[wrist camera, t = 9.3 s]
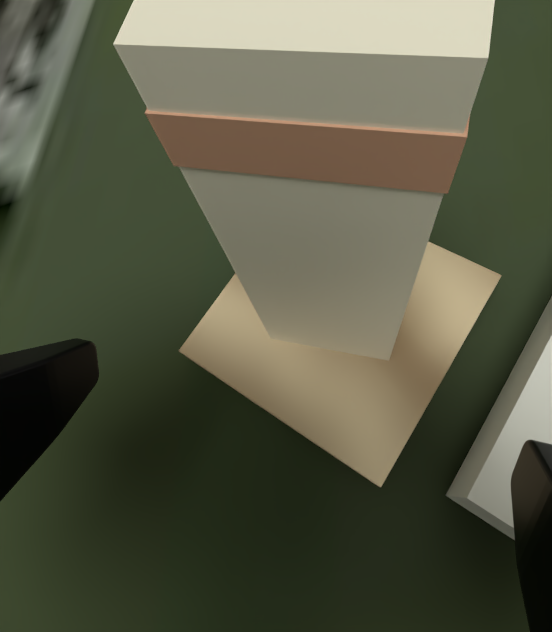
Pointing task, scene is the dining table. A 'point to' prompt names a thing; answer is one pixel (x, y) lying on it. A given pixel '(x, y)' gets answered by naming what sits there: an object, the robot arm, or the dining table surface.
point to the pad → (349, 365)
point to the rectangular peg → (314, 143)
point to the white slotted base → (509, 432)
